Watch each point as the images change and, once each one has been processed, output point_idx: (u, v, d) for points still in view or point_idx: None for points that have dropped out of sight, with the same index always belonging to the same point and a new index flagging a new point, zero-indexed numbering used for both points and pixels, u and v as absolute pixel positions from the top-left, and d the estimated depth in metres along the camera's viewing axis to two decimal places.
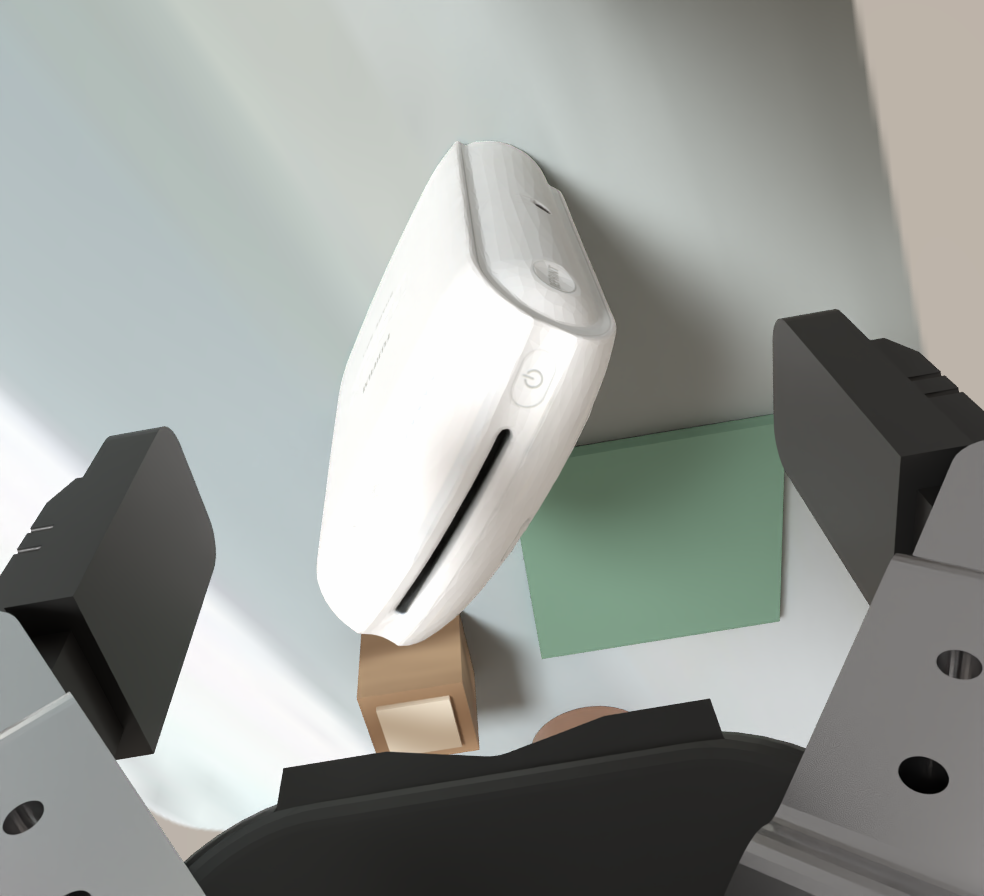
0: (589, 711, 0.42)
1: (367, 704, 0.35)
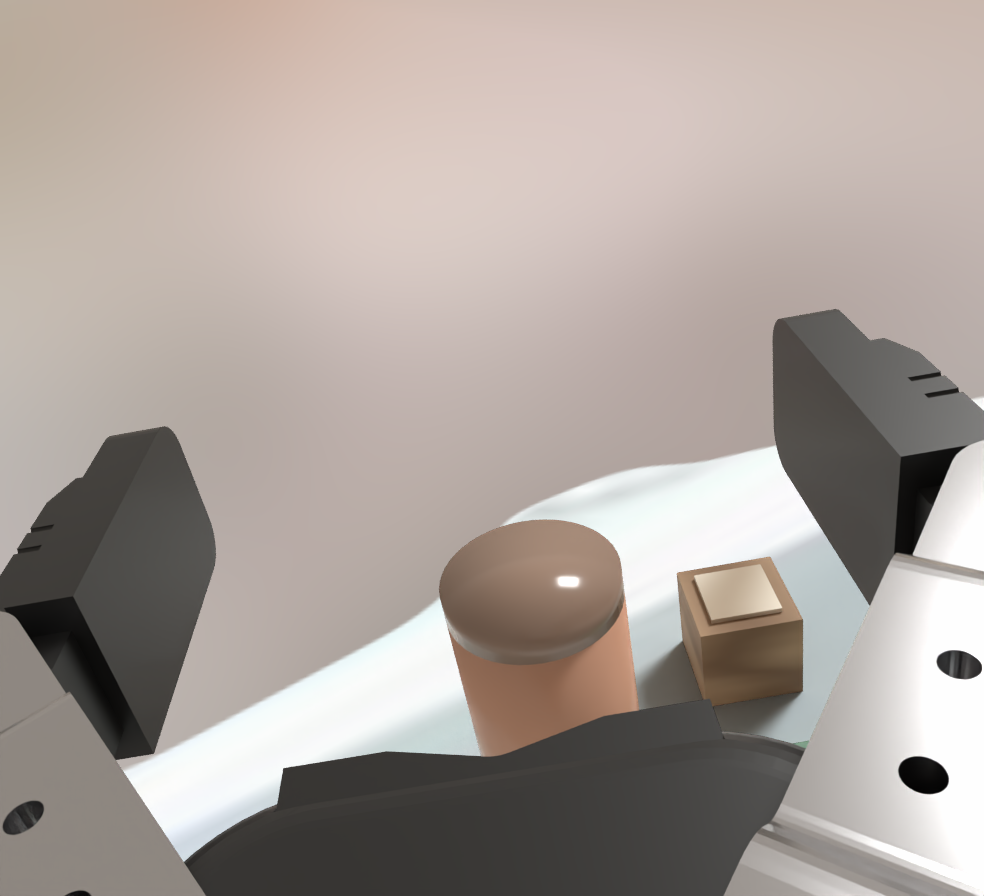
0: None
1: (763, 562, 0.39)
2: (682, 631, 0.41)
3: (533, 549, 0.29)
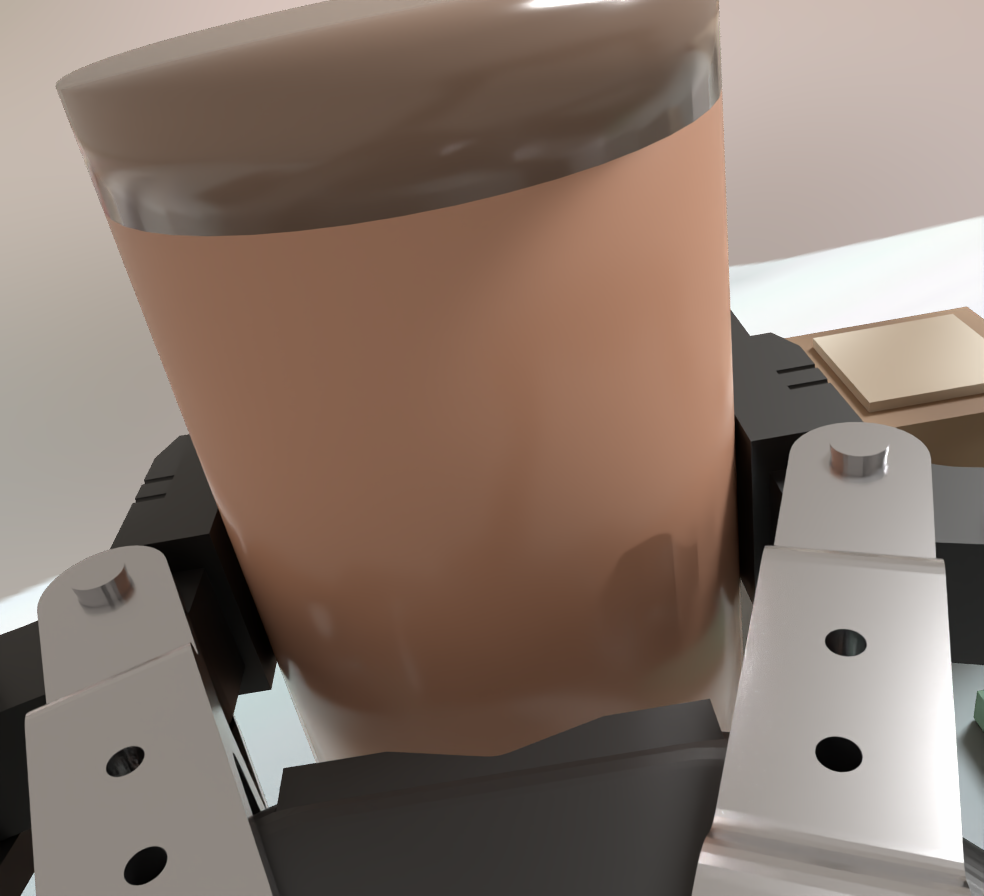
0: None
1: (956, 316, 0.19)
2: None
3: None
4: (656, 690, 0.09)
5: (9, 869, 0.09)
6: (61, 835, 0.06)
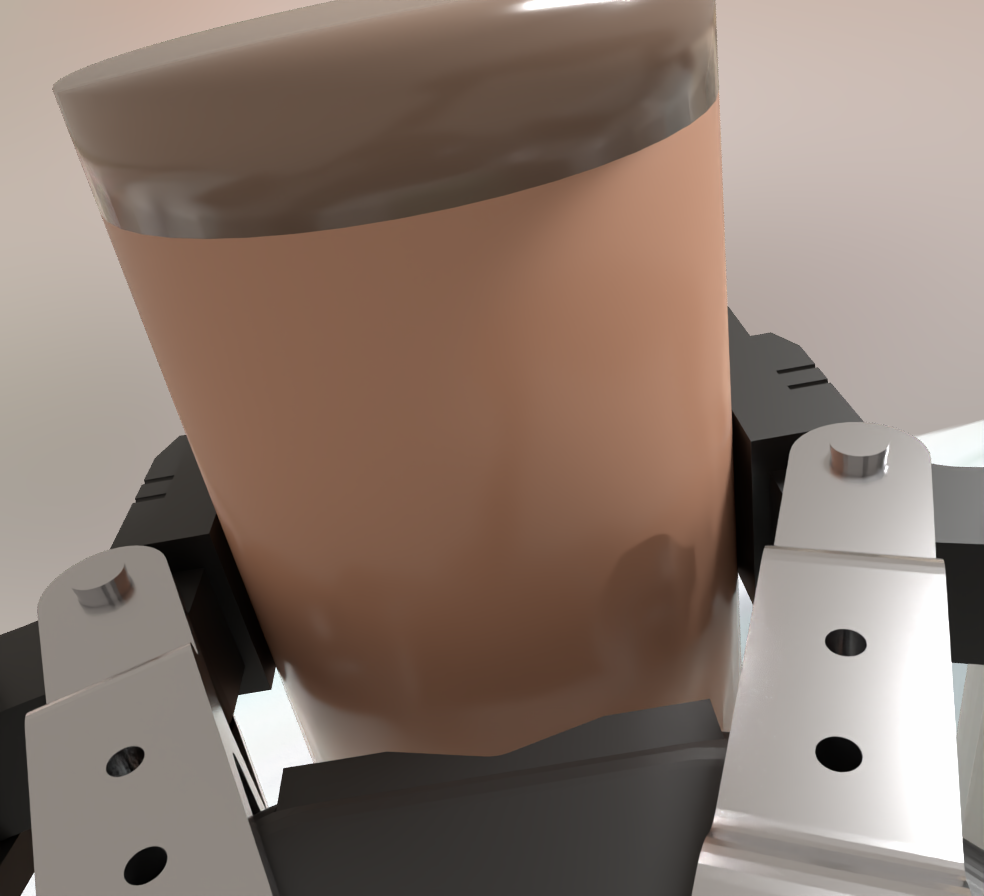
0: None
1: None
2: None
3: None
4: (653, 692, 0.09)
5: (9, 869, 0.09)
6: (61, 835, 0.06)
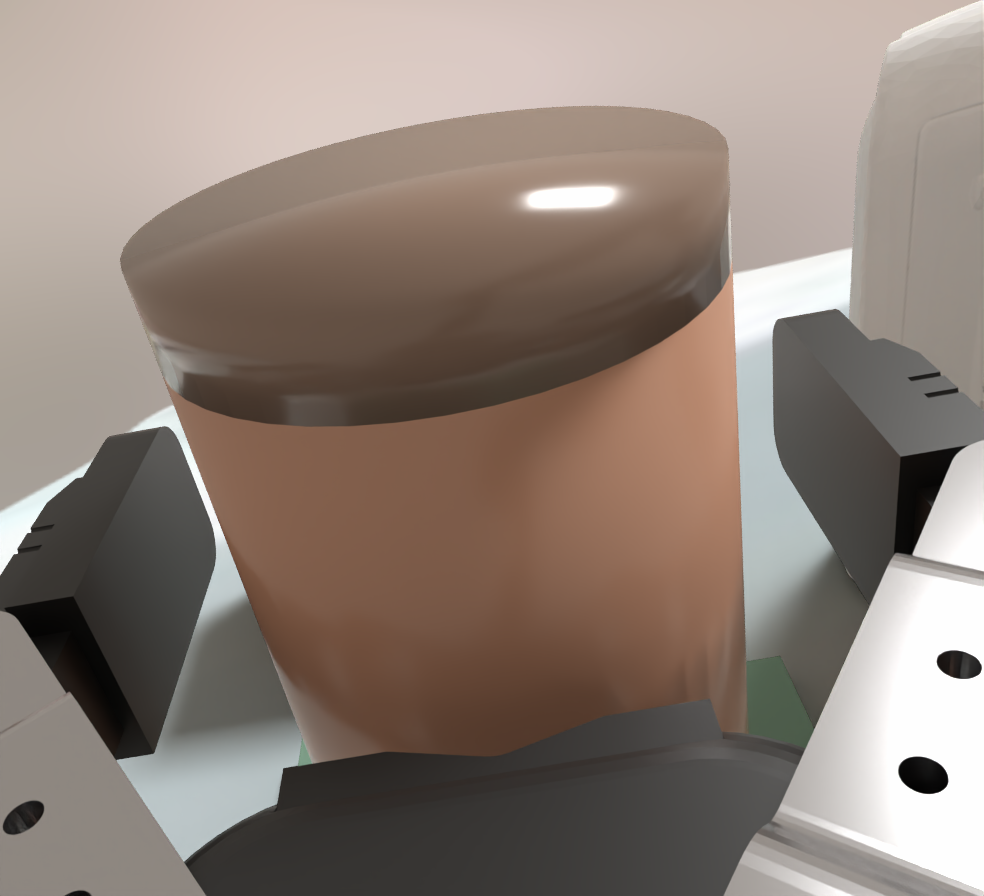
0: None
1: None
2: None
3: (446, 149, 0.10)
4: None
5: None
6: None
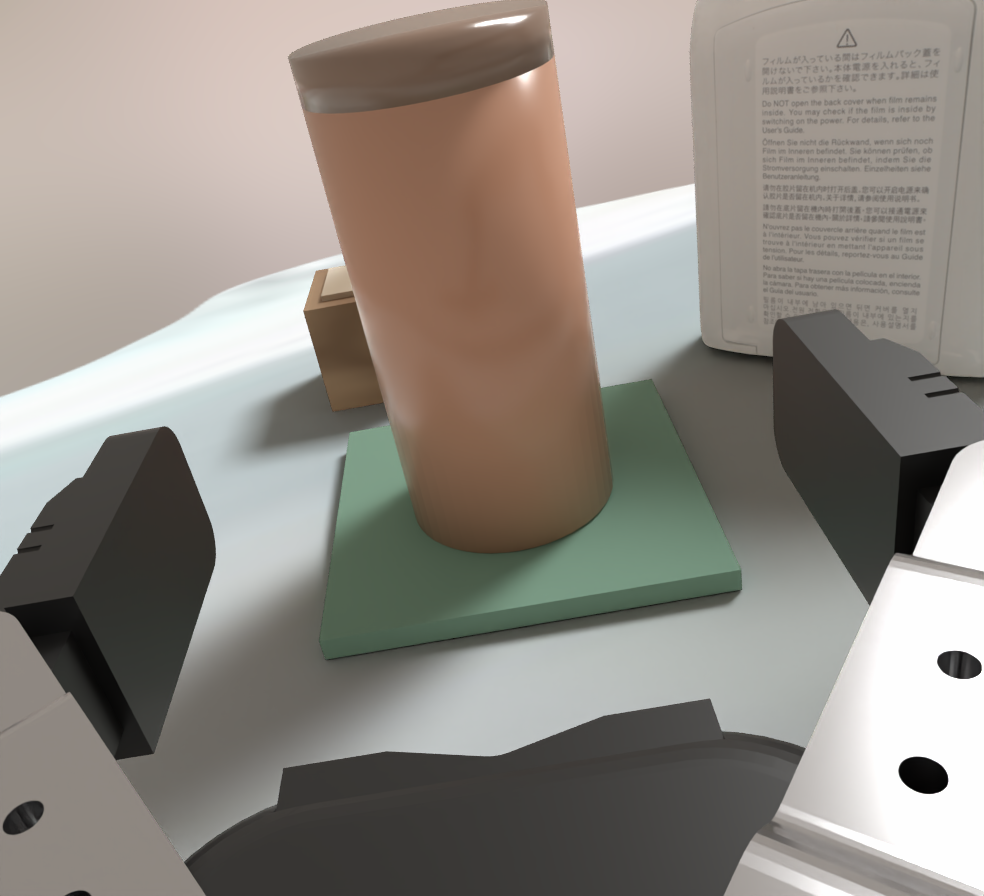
0: (611, 467, 0.25)
1: None
2: None
3: (429, 19, 0.21)
4: (536, 322, 0.21)
5: None
6: None
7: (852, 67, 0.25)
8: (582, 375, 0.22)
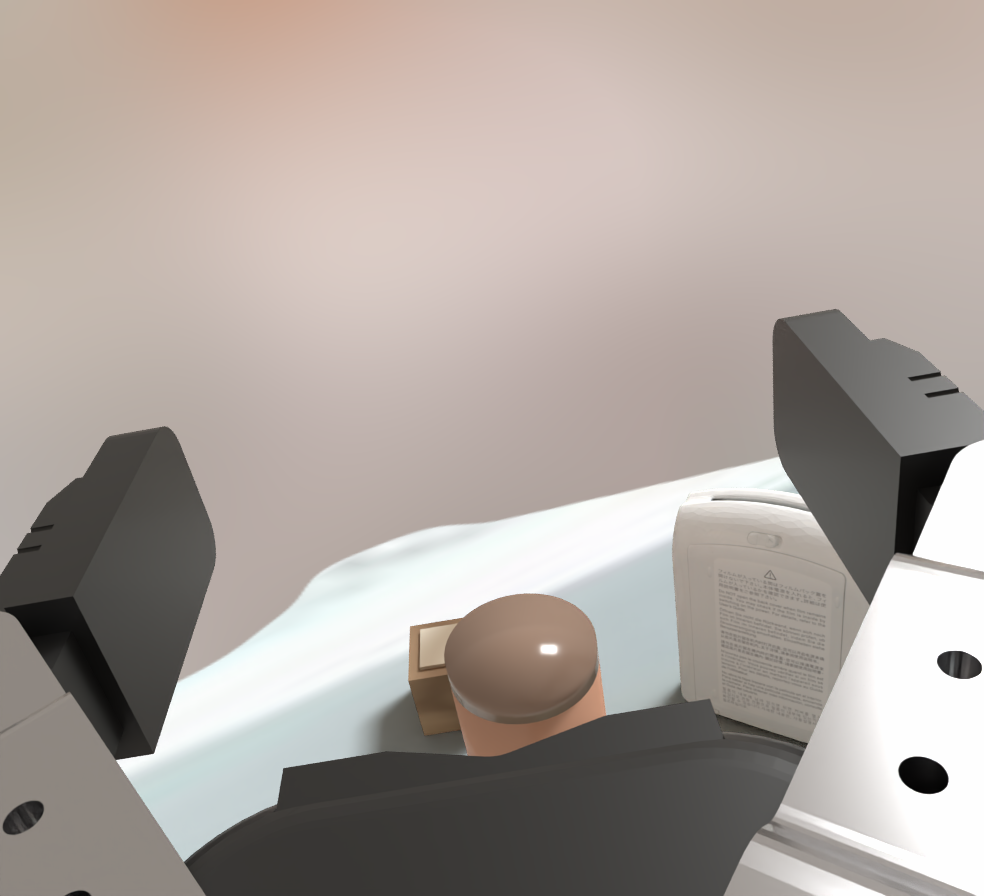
0: None
1: None
2: None
3: (524, 621, 0.35)
4: None
5: None
6: None
7: (774, 589, 0.39)
8: None
